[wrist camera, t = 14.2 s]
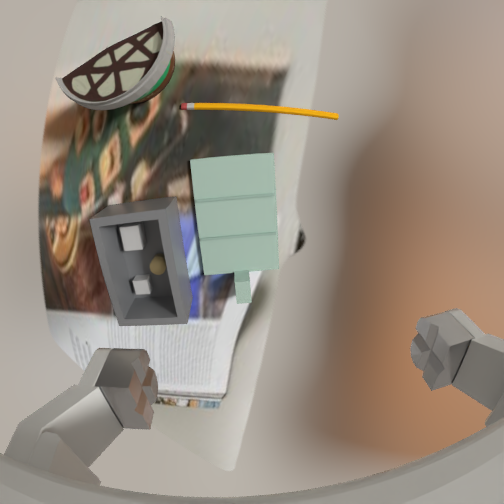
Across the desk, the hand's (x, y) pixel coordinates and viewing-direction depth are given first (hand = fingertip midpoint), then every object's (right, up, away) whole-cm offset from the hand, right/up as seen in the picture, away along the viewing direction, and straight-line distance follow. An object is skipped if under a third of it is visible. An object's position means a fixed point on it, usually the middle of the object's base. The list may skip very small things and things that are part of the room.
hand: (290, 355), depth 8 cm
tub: (-14, +3, +30) cm, 33 cm away
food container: (-14, +22, +22) cm, 34 cm away
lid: (-3, +6, +29) cm, 30 cm away
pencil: (0, +19, +24) cm, 31 cm away
